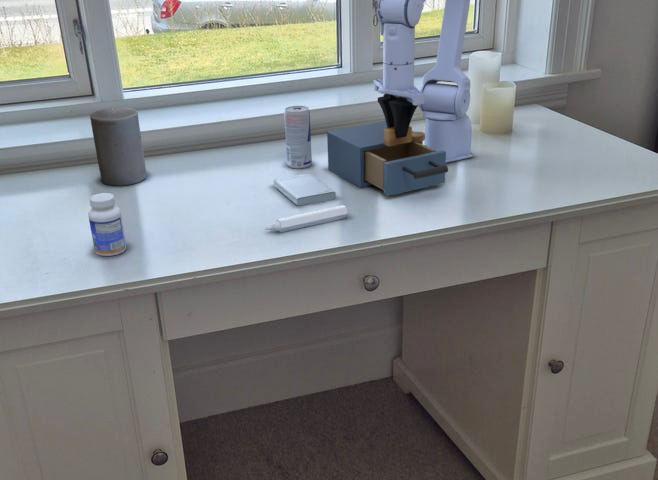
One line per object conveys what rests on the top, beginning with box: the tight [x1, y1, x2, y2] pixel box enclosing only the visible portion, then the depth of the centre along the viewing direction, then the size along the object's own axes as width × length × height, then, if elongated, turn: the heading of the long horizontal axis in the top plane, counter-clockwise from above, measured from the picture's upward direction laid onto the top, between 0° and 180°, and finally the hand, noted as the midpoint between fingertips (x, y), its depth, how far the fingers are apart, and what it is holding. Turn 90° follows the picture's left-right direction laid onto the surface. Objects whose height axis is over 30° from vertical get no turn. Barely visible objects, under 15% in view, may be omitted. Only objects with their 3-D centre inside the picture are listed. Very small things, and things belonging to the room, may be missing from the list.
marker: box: [264, 204, 349, 233], centre depth 149 cm, size 3×2×16 cm
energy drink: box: [283, 105, 313, 169], centre depth 176 cm, size 5×5×12 cm
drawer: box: [364, 142, 449, 197], centre depth 162 cm, size 18×13×6 cm
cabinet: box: [326, 120, 424, 189], centre depth 171 cm, size 14×15×8 cm
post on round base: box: [384, 125, 426, 147], centre depth 160 cm, size 9×3×3 cm, turn 118°
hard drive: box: [273, 173, 337, 206], centre depth 163 cm, size 2×8×12 cm
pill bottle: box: [87, 192, 127, 257], centre depth 140 cm, size 5×5×10 cm
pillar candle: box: [89, 106, 148, 187], centre depth 171 cm, size 10×10×15 cm
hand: (397, 135), depth 159 cm, fingers closed on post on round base, 2 cm apart
